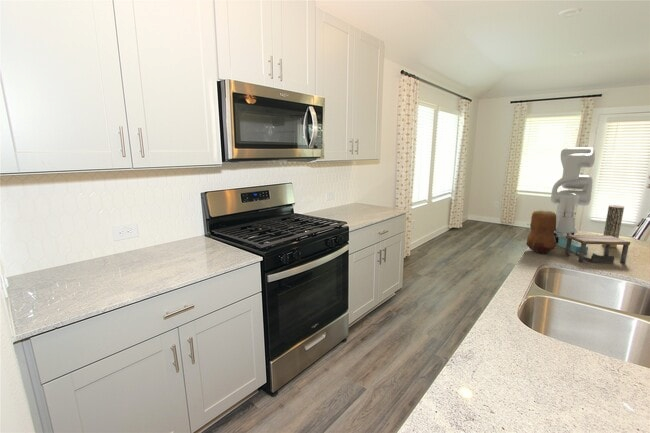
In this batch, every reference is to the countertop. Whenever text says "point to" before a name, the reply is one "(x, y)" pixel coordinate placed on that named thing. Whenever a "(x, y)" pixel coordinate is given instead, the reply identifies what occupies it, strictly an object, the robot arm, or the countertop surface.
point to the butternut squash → (542, 231)
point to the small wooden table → (597, 240)
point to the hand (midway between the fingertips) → (561, 242)
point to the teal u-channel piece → (574, 245)
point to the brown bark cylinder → (613, 222)
